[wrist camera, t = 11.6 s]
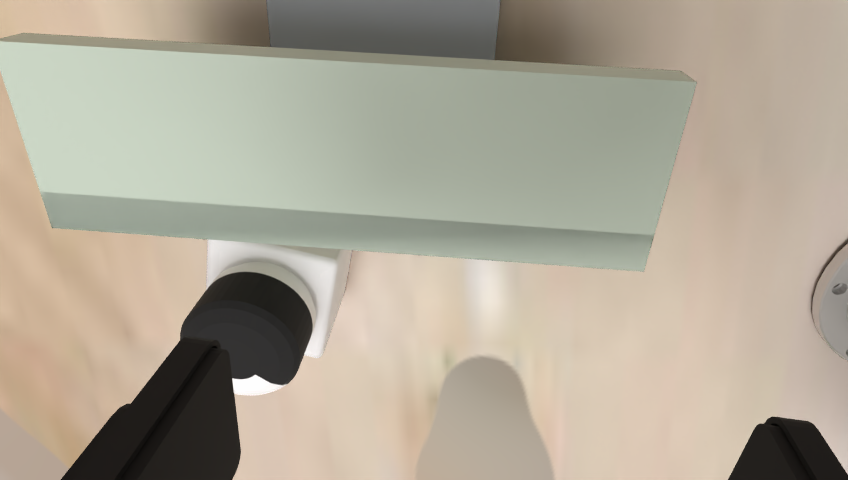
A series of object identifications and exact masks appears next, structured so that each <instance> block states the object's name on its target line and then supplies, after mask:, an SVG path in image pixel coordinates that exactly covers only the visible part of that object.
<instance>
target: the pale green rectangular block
mask: <svg viewBox="0 0 848 480" xmlns="http://www.w3.org/2000/svg"><path fill="white" fill-rule="evenodd" d="M0 71H1V74H2V77H3V80H4V83H5V86H6V89H7V92H8V95H9V98H10V102H11V105H12V108H13V111H14V114H15V117H16V120H17V123H18V126H19V129H20V132H21V135H22V138H23V141H24V144H25V147H26V150H27V153H28V156H29V159H30V162H31V165H32V168H33V172H34V175H35V178H36V181H37V184H38V187H39V190H40V193H41V196H42V199H43V202H44V205H45V208H46V211H47V214H48V217H49V220H50V223H51V226H52V228H60V229H73V230H87V231H100V232H114V233H127V234H141V235H154V236H168V237H181V238H195V239H208V240H222V241H235V242H249V243H262V244H276V245H289V246H303V247H316V248H330V249H343V250H357V251H370V252H384V253H397V254H411V255H424V256H438V257H451V258H465V259H478V260H492V261H505V262H519V263H532V264H546V265H559V266H573V267H586V268H600V269H613V270H627V271H640V272H644V269H645V266H646V262H647V259H648V255H649V251H650V248H651V244H652V241H653V237H654V234H655V230H656V226H657V223H658V219H659V216H660V212H661V209H662V205H663V201H664V198H665V194H666V191H667V187H668V184H669V180H670V176H671V173H672V169H673V166H674V162H675V159H676V155H677V151H678V148H679V144H680V141H681V137H682V134H683V130H684V126H685V123H686V119H687V116H688V112H689V109H690V105H691V101H692V98H693V94H694V91H695V87H696V84H697V82H696V81H695V80H693V79H692V78H690V77H689V76H687V75H686V74H684V73H683V72H682V71H675V70H658V69H641V68H623V67H606V66H589V65H571V64H554V63H537V62H519V61H502V60H485V59H467V58H450V57H433V56H415V55H398V54H381V53H363V52H346V51H329V50H311V49H294V48H277V47H259V46H242V45H225V44H207V43H190V42H173V41H155V40H138V39H120V38H103V37H86V36H68V35H51V34H34V33H21V34H17V35H13V36H9V37H4V38H0Z"/></svg>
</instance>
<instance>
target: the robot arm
mask: <svg viewBox="0 0 848 480" xmlns="http://www.w3.org/2000/svg"><path fill="white" fill-rule="evenodd" d="M812 315H813V319H814V323H815V327H816V329H817V330H818V332H819V334H820V335H821V337H822V339H823V340H824V341H825V342H826V343H827V344H828V345H829V346H830V348H831V349H832V350H833V351H834V352H835V353H836V354H838V355H839V356H840V357H841V358H843V359H845V360H847V361H848V244H846V245H845V246H844V247H843V248H842V249H841V250H840V251H839V252H838V253H837V254H836V255H835V257H834V258H833V259H832V261H831V262H830V263H829V264H828V266H827V267H826V268H825V270H824V272H823V274H822V276H821V278H820V280H819V281H818V283H817V286H816V290H815V293H814V297H813V307H812ZM240 454H241V449H240V440H239V432H238V423H237V415H236V406H235V398H234V389H233V381H232V372H231V364H230V356H229V352H228V350H225V349H221V345H220V343H219V341H217V340H212V339H205V338H198V337H190V336H186V337H183V338H182V339H181V340H180V341H179V343H178V344H177V345H176V347H175V348H174V349H173V350H172V352H171V353H170V354H169V356H168V357H167V358H166V359H165V361H164V362H163V363H162V364H161V366H160V367H159V368H158V370H157V371H156V372H155V373H154V375H153V376H152V377H151V379H150V380H149V381H148V382H147V384H146V385H145V386H144V388H143V389H142V390H141V391H140V393H139V394H138V395H137V396H136V398H135V399H134V400H133V402H132V403H131V404H126V405H124V406H122V407H120V408H119V409H118V410H117V411H116V412H115V413H114V414H113V415H112V416H111V418H110V419H109V420H108V421H107V423H106V424H105V425H104V426H103V428H102V429H101V430H100V431H99V433H98V434H97V435H96V436H95V438H94V439H93V440H92V441H91V443H90V444H89V445H88V446H87V448H86V449H85V450H84V451H83V453H82V454H81V455H80V456H79V458H78V459H77V460H76V461H75V463H74V464H73V465H72V466H71V468H70V469H69V470H68V471H67V473H66V474H65V475H64V476H63V477H62V479H61V480H232V479H233V477H234V475H235V472H236V470H237V468H238V464H239V461H240ZM728 480H848V475H847V473H846V472H845V470H844V468H843V467H842V465H841V464H840V462H839V461H838V459H837V458H836V456H835V455H834V453H833V452H832V450H831V449H830V447H829V446H828V444H827V443H826V441H825V439H824V438H823V436H822V435H821V433H820V432H819V430H818V429H817V428H816V427H815V425H814V424H812V423H810V422H809V421H802V420H794V419H787V418H780V417H771V418H769V419H767V421H766V422H765V423H764V424H758V425H757V426H756V427H755V429H754V431H753V433H752V435H751V436H750V438H749V440H748V442H747V444H746V446H745V448H744V450H743V452H742V454H741V456H740V458H739V460H738V462H737V464H736V465H735V467H734V469H733V471H732V473H731V475H730V477H729V479H728Z"/></svg>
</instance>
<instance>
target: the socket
mask: <svg viewBox="0 0 848 480" xmlns="http://www.w3.org/2000/svg"><path fill="white" fill-rule="evenodd" d="M266 2H267V13H268V24H269V35H270V46H271V47H277V48H294V49H311V50H329V51H346V52H363V53H381V54H398V55H415V56H433V57H450V58H467V59H485V60H494V59H495V50H496V40H497V30H498V20H499V10H500V0H266Z"/></svg>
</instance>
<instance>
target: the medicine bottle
mask: <svg viewBox="0 0 848 480" xmlns="http://www.w3.org/2000/svg"><path fill="white" fill-rule="evenodd" d="M351 255H352V250H343V249H330V248H316V247H303V246H289V245H276V244H262V243H249V242H235V241H222V240H208V246H207V277H206V291H205V293H204V294H203V295H202V297H201V298H200V300H199V301H198V302H197V304H196V305H195V306H194V308H193V309H192V311H191V312H190V313H189V315H188V316H187V318H186V319H185V321H184V323H183V325H182V328H181V333H180V340H181V339H182V338H183V337H186V336H190V337H198V338H205V339H212V340H217V341H219V343H220V345H221V349H225V350H228V352H229V356H230V364H231V372H232V381H233V389H234V393H235V394H240V395H261V394H266V393H270V392H273V391H276V390H278V389H280V388H282V387H284V386H285V385H287V384H288V383H289V382H290V381H291V380H292V379H293V378H294V376H295V375H296V373H297V371H298V369H299V366H300V364H301V361H302V359H303V356H304V355H306V356H310V357H315V358H319V357H321V356H322V355H323V353H324V350H325V347H326V344H327V341H328V338H329V336H330V333H331V330H332V327H333V324H334V321H335V318H336V315H337V313H338V310H339V307H340V304H341V301H342V298H343V295H344V293H345V288H346V282H347V277H348V272H349V266H350V261H351Z"/></svg>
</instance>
